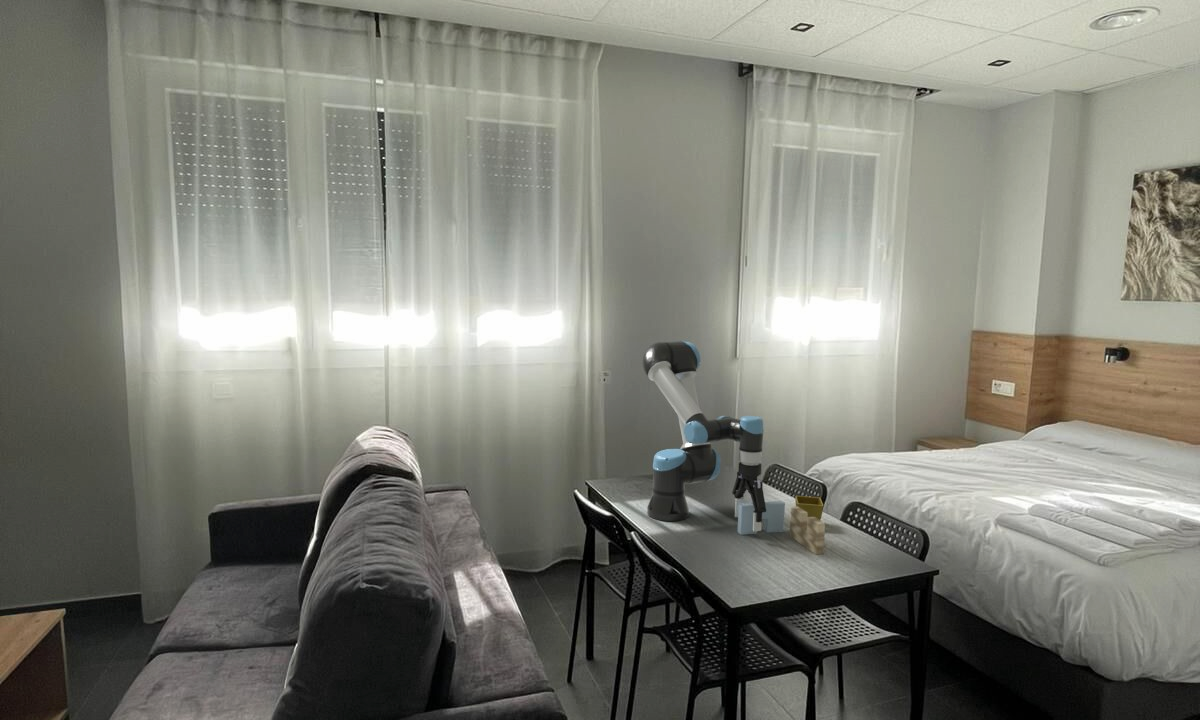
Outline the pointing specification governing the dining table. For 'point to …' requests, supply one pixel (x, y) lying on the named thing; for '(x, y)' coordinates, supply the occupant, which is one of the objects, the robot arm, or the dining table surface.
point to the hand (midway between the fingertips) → (747, 523)
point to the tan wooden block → (807, 530)
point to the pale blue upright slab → (771, 516)
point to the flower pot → (810, 505)
